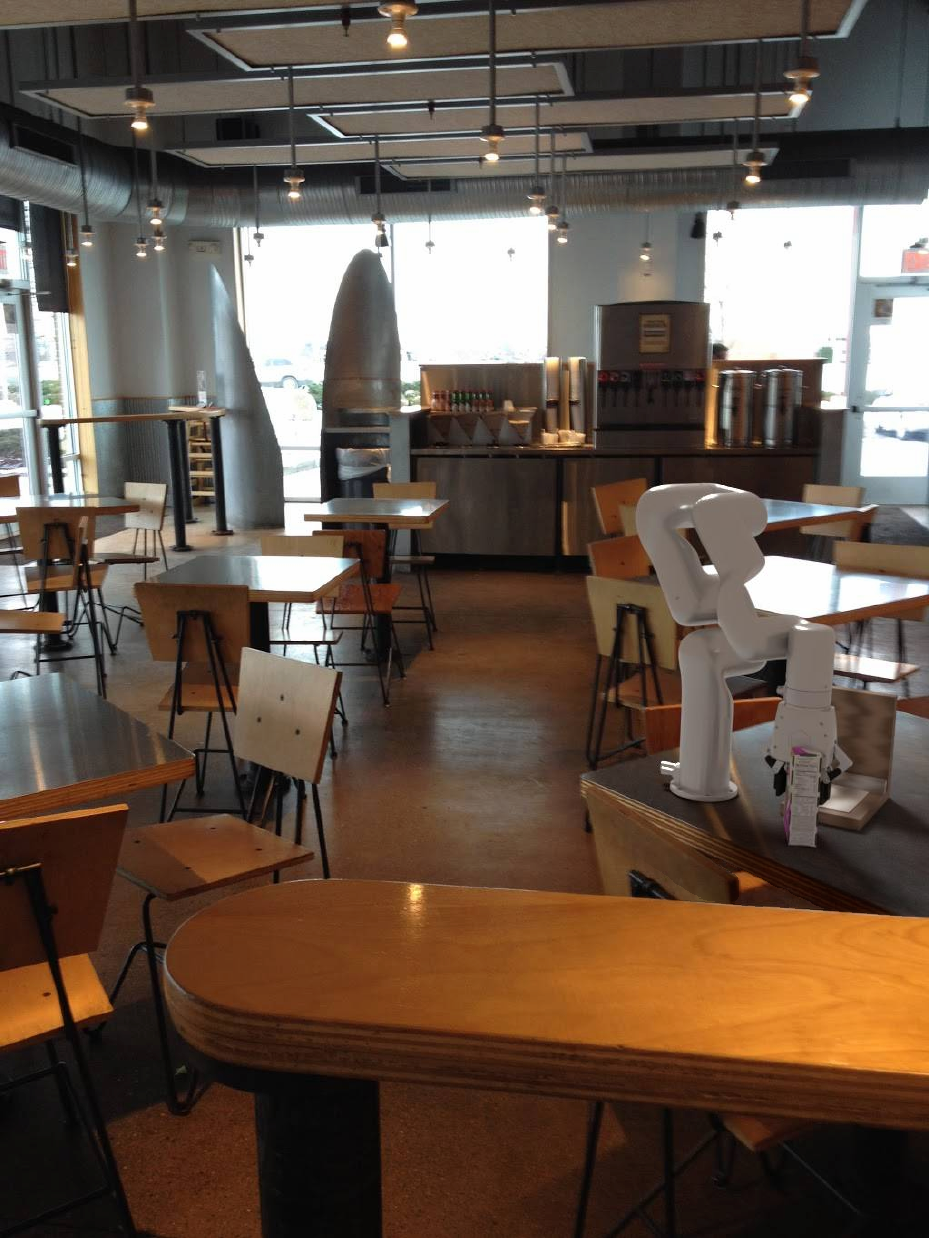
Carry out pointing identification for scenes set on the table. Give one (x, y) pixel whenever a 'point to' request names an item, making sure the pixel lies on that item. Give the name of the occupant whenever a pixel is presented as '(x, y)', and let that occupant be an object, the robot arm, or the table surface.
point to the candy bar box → (802, 797)
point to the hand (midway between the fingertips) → (801, 797)
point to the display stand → (860, 756)
